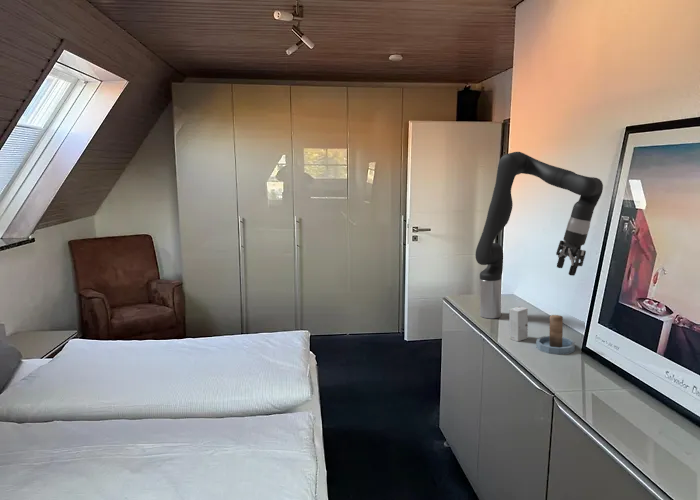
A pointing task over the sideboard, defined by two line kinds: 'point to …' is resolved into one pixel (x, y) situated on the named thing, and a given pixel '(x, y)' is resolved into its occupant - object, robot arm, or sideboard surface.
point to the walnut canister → (556, 331)
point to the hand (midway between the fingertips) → (565, 271)
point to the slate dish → (544, 346)
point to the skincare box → (518, 323)
